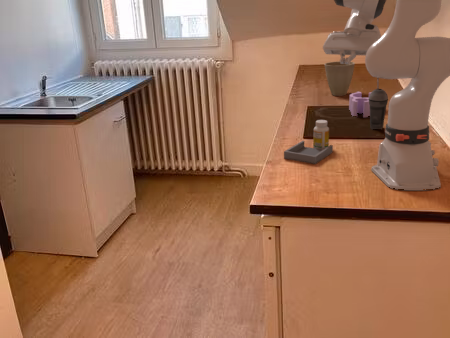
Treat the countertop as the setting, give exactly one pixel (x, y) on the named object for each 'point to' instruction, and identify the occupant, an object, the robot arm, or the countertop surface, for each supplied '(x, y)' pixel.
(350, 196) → the countertop surface
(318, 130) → the supplement bottle
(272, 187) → the countertop surface
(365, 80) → the countertop surface
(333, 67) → the plant pot
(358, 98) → the clip
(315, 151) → the tray
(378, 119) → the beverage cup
